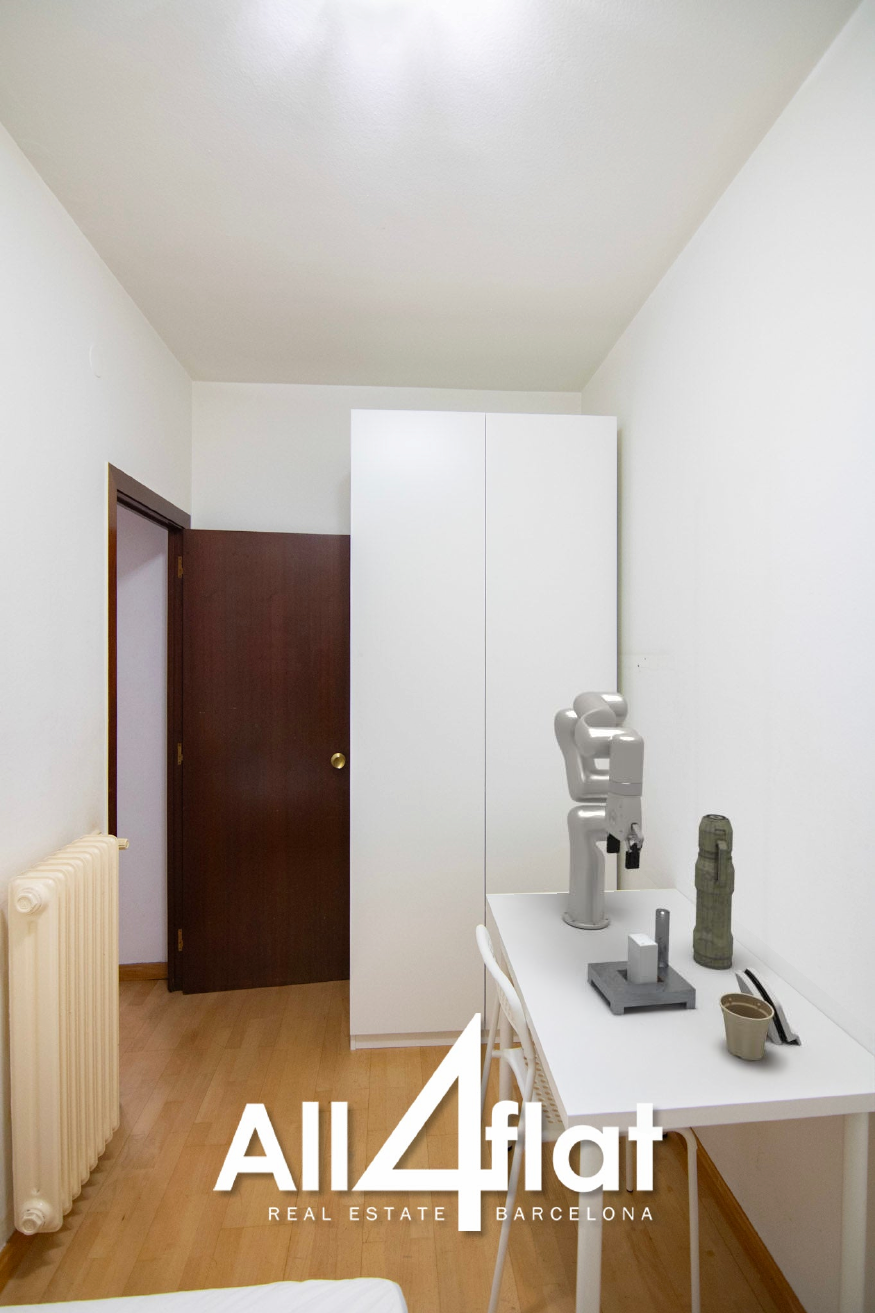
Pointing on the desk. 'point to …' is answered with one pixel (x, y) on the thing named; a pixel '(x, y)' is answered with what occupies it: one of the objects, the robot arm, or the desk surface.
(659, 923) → the gray square stand
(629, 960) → the skincare box
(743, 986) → the white curved piece
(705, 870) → the thermos
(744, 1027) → the flower pot
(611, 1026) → the desk surface
